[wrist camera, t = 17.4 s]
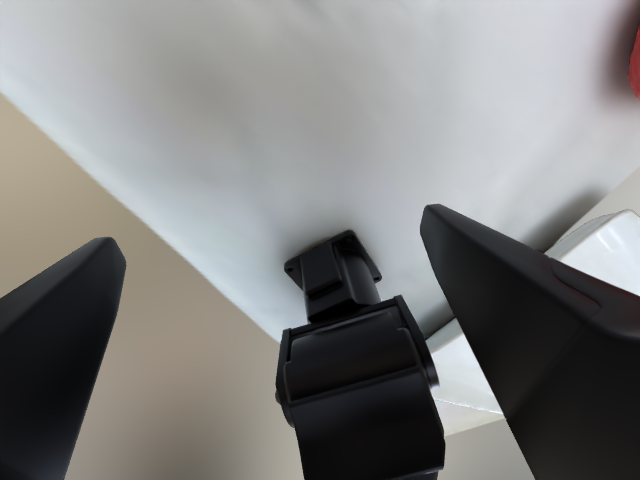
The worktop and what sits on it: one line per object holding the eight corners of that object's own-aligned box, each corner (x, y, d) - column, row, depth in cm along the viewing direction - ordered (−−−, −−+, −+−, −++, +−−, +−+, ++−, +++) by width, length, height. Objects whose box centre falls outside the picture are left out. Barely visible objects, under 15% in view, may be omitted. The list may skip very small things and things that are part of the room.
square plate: (370, 358, 38) (379, 390, 35) (593, 180, 26) (636, 207, 23) (498, 395, 50) (513, 421, 47) (690, 287, 38) (727, 313, 35)
